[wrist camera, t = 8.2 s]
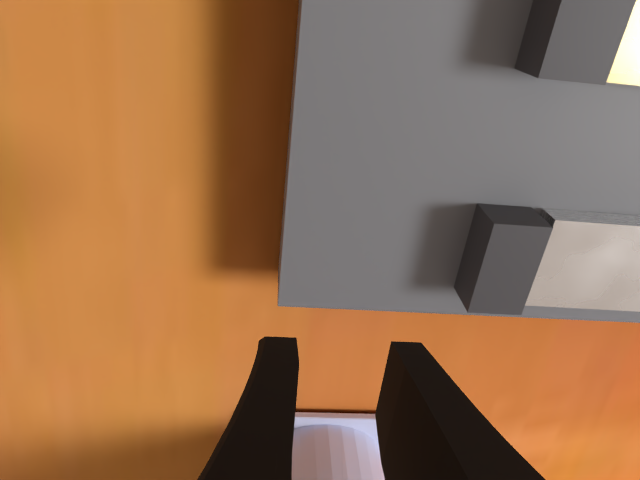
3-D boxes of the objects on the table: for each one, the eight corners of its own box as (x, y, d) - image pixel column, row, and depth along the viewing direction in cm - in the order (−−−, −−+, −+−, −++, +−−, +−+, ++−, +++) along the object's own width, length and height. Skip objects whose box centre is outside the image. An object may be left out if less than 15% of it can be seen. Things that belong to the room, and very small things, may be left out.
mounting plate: (783, 298, 24) (879, 360, 20) (278, 271, 21) (277, 336, 17) (1005, -38, 17) (1211, -41, 13) (310, -139, 14) (320, -179, 11)
